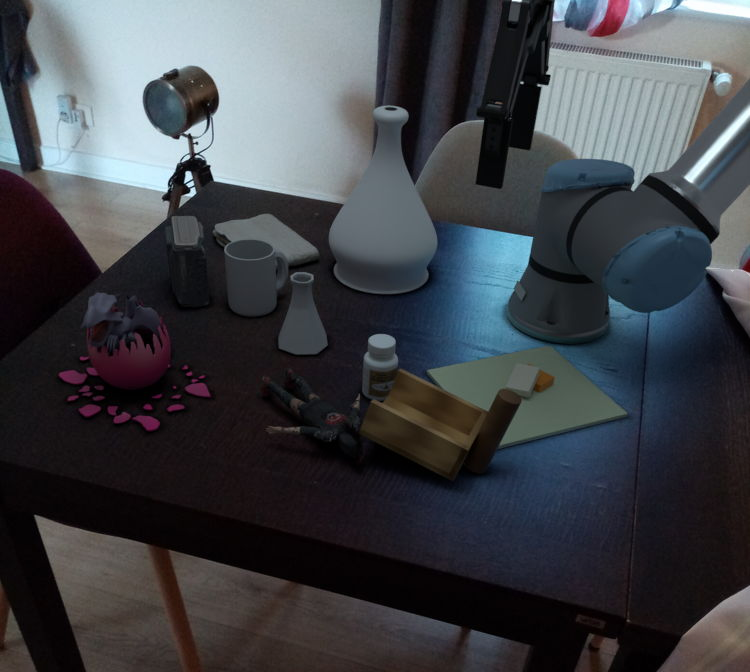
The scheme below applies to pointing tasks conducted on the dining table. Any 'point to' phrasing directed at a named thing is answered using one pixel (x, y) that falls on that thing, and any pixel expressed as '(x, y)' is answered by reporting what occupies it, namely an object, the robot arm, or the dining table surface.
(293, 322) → the flask
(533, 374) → the block
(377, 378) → the pill bottle
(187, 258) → the camera
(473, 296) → the dining table surface
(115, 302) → the hatching egg
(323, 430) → the figurine
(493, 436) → the open wooden box
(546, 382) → the block
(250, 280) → the cup
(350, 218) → the vase
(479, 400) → the placemat
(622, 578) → the dining table surface
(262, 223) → the washcloth
